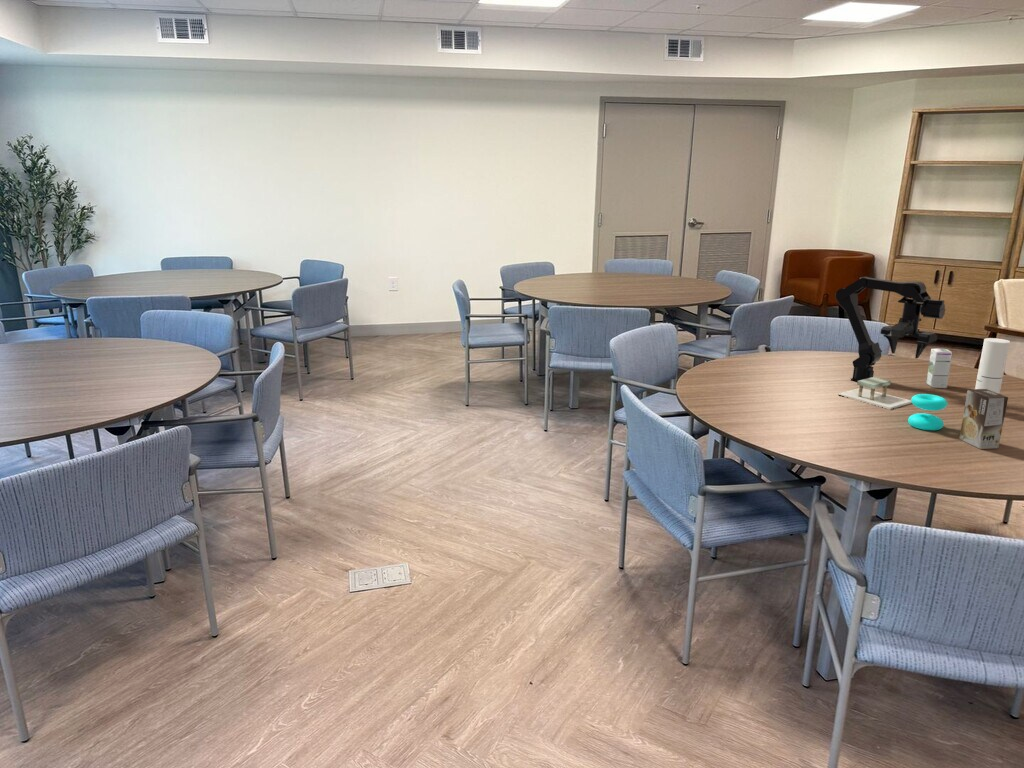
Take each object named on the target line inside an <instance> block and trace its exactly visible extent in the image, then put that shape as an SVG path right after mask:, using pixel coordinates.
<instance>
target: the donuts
mask: <svg viewBox="0 0 1024 768" xmlns="http://www.w3.org/2000/svg"><path fill="white" fill-rule="evenodd" d="M910 400H911V401H912V403H911V404H912V405H913V406H915V407H916V408H917V409H921V410H926V411H942V410H944V409H946V407H948V406H947V405H948V400H946V398H945V397H943V396H939V395H937V394H929V393H918V394H915V395H913V396H912V397H911V399H910ZM907 422H908V424H909V425H910V426H911V427H913V428H916V429H919V430H924V431H939V430H941V429H942V428H943V427H944V425H945V423H944V421H943V419H942V418H940V417H939V416H936V415H934V414H930V413H923V412H922V413H921V412H920V413H913V414H912V415H910V416H909V417H908V418H907Z"/></svg>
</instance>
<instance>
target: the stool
mask: <svg viewBox="0 0 1024 768" xmlns="http://www.w3.org/2000/svg"><path fill="white" fill-rule="evenodd" d="M856 382H857V383H856V385H857V386H858V388H859V393H858V397H862V390H863V388H867V389H870V390H871V392H870V393H871V394H870V400H874V393H875V392H876V391H875V390H876V389H879V388H882V392H881V393H882V396H883V397H886V394H887V391H888V386H890V385H891V380H889V379H886V378H885V379H884V378H881V377H880V378H879V377H877V376H873V377H871V378H867V379H863V380H859V381H856Z"/></svg>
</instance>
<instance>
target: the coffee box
mask: <svg viewBox="0 0 1024 768" xmlns="http://www.w3.org/2000/svg"><path fill="white" fill-rule="evenodd" d="M1008 401H1009V397H1008V396H1006V395H1003V394H998V393H995V392H993V391H990V390H987V389H975V388H974V389H968V390H967V392H966V399H965V403H964V409H963V416H962V419H961V420H962V421H961V426H960V434H959V440H960V441H963V442H965V443H967V444H969V445H971V446H974V448H977V449H980V450H984V449H998V448H999V446H1000V444H1001V443H1000V442H1001V436H1002V432H1003V428H1004V427H1003V426H1004V421H1005V415H1006V411H1007V405H1008Z"/></svg>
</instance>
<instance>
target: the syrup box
mask: <svg viewBox="0 0 1024 768" xmlns="http://www.w3.org/2000/svg"><path fill="white" fill-rule="evenodd" d="M952 356H953V352H952V351H951V350H950V349H947V348H931V350H930V355H929V360H928V367H927V368H928V369H927V375H926V381H925V384H926V385H928V387H930V388H934V389H947V388H948V382H949V377H950V371H951V370H950V369H951V363H952Z"/></svg>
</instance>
